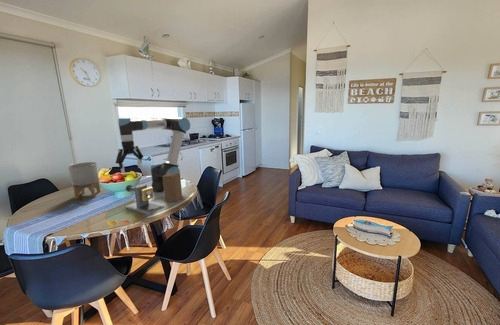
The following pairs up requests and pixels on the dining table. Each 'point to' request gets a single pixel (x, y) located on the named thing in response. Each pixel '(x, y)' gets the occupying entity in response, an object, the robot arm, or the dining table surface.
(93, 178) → the planter
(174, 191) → the wooden block
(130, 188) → the shaft
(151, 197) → the spacer
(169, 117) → the robot arm
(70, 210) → the dining table surface
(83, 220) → the dining table surface
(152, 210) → the jig
